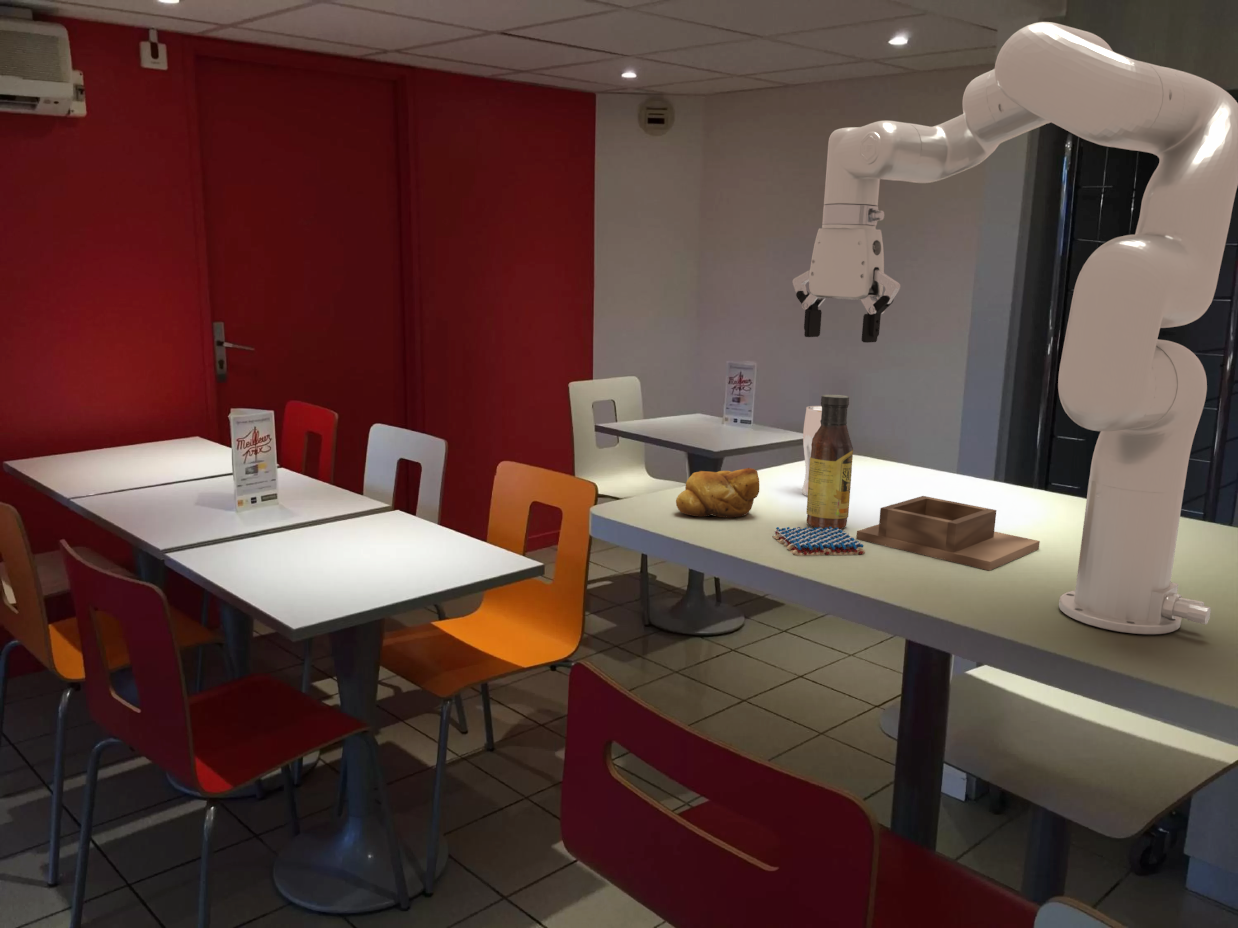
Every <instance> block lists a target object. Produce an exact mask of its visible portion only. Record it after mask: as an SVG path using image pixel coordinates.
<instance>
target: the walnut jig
mask: <svg viewBox="0 0 1238 928" xmlns="http://www.w3.org/2000/svg"><path fill="white" fill-rule="evenodd" d="M879 509H880V510H879V521H878V523H879V524H875V525H872V526H869V527H866V528H865V527H864V528H862V529H858V530H856V537H855V539H857V541H859V540H860V541H863V542H868V543H871V544H876V545H880V546H884V547H889V548H894V549H897V550H901V551H906V552H910V553H914V554H918V555H922V556H927V557H930V558H935V559H939V560H943V561H946V562H947V561H948V562H952V563H955V564H960V565H965V566H969V567H973V568H977V569H980V570H981V569H982V570H985V571H992V570H994V569H997V568H999V567H1001V566H1003V565H1007V564H1009V563H1011V562H1013V561H1015V560H1017V559H1020V558H1022V557H1024V556H1027V555H1029V554H1031V553H1034V552H1035V551H1038V550H1040V543H1041V541H1040V540H1036V539H1031V538H1026V537H1022V536H1018V535H1012V534H1009V533H1008V534H1007V533H1004V532H1003V533H1002V532H999V531H995V530H996V529H995V528H996V527H995V526H996V520H997V519H996V516H997V509H991V508H989V507H984V506H977V505H972V504H967V503H963V502H957V501H952V500H947V499H941V498H935V497H932V496H931V497H930V496H926V495H921V496H918V497H913V498H911V499H908V500H903V501H899V502H896V503H893V504H889V505H887V506H886V505H885V506H883V507H880V508H879Z"/></svg>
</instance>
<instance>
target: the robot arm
mask: <svg viewBox="0 0 1238 928" xmlns="http://www.w3.org/2000/svg"><path fill="white" fill-rule="evenodd" d="M994 65H995V66H994V68H993V69H992V70H991V69H990V70H989V71H987V72H984V73H982V74H980V75H979V76H976V77H975V78H974V79H971V81H970V82H969V83H968V84H967V85H966V87H965V90H964V91H963V96H962V112H963V113H962V114H959V115H958V116H956V117H954V118H951V119H949V120H947V121H944V122H942V123H938V124H936V125H934V126H928V125H924V124H923V125H922V124H917V123H912V122H902V121H897V120H878V121H874V122H871V123H868V124H866V125H863V126H858V127H855V126H853V127H849V126H848V127H842V128H838V129H835V130H834V131H832V132H831V134H830V136H829V138H828V142H827V143H828V144H827V159H826V172H825V173H826V174H825V184H824V185H825V186H824V196H823V198H824V199H823V210H822V223H821V224H822V225H821V228H820V227H819V228H818V230H817V233H816V237H815V240H814V245H813V250H812V254H811V255H812V256H811V262H810V268H809V269H808V270H807V271H805V272H803V273H801V274H800V275H798V276H796V277H794V278H793V279H792V281H791V282H792V286H793V289H794V292H795V293H796V294H795V296H796V299H797V300H798V301H799V303H800V304H801V308H802V309H803V310H805V311H804V322H803V323H804V324H803V329H804V337H805V338H815V337H817V338H818V337H819V336H821V326H822V325H821V324H822V313H823V312H822V309H819V307H820V306H821V305H822V304H823V303H824V301H825V300H826V299H837V300H852V301H853V300H855V301H856V300H860V302H861V303H862V305H863V307H864V308H865V310H866V312H867V313H864V314H863V318H862V330H861V342H863V343H876V342H877V341H878V337H879V335H880V326H881V315H883V314H884V313H885V312H886V309H888V307H890V306H891V305H892V304H893V302H894V298H895V297H896V296H897V294H898V293H899V291H900V290H901V283H899V282H898V281H896V280H895V279H893V278H892V277H891V276H889V275H888V274H886V273H885V271H884V270H885V254H884V252H885V251H884V243H883V234H882V233H883V232H882V229H877V228H876V227H877V225H878V222H879V221H883V220H884V219H885V211H884V210H879V206H878V205H879V193H880V181H881V180H887V181H900V182H908V183H915V184H916V183H917V184H929V183H934V182H935V183H936V182H939V181H942V180H944V179H947V178H950V177H952V176H954V175H955V176H956V175H957V174H960V173H962V172H965V171H967V170H969V169H972V168H975V167H976V166H978V165H979V164H981V163H983V162H984V161H985V160H986V159H988V158H989V156H991V155H992V154H993V153H994V152H995V151H996V150H997V148H998V147H999V145H1001V144H1002V143H1004V142H1007V141H1009V140H1011V139H1014V138H1016V137H1018V136H1020V135H1022V134H1025V133H1028V132H1030V131H1032V130H1035V129H1037V128H1040V127H1043V126H1044V125H1046V124H1047V125H1048V124H1050V123H1051V124H1054V125H1056V126H1057V127H1060V128H1061V129H1064V130H1065V131H1068V132H1069V133H1071V134H1073V135H1075V136H1076V137H1079V138H1081V139H1083V140H1085V141H1088V142H1090V143H1094V144H1096V145H1099V146H1103V147H1109V148H1116V149H1122V150H1129V151H1138V152H1143V153H1149V154H1153V155H1154V156H1157V158H1158V159H1159V163H1158V165H1157V167H1156V169H1155V170H1154V171H1153V173H1152V175H1151V177H1150V178H1149V181H1148V183H1147V185H1146V187H1145V190H1144V193H1143V196H1142V199H1141V205H1140V212H1139V218H1138V221H1137V225H1136V229H1135V233H1134V234H1126V235H1123V236H1117V237H1114V238H1112V239H1110V240H1108V241H1106V242H1104V243H1103V244H1102V245H1100V246H1099V247H1098V248H1096V249H1095V250H1094V251H1093V252H1092V253H1091V254H1090V256H1089V257H1088V258H1087V260H1086V261H1085V263H1083V265H1082V268H1081V270H1080V271H1079V274H1078V276H1077V279H1076V282H1075V285H1074V289H1073V293H1072V294H1073V295H1072V299H1071V303H1070V310H1069V315H1068V321H1067V325H1066V331H1065V335H1064V336H1065V337H1064V342H1063V348H1062V352H1061V359H1060V363H1059V371H1058V378H1057V379H1058V381H1057V382H1058V383H1057V389H1058V396H1059V400H1060V403H1061V406H1062V408H1063V410H1064V412H1065V414H1067V416H1068V417H1069V418H1070V419H1071V421H1073V422H1074V423H1075V424H1077V425H1078V426H1080V427H1081V428H1084V429H1086V430H1090V431H1095V432H1099V434H1098V438H1097V440H1096V444H1095V446H1094V451H1093V453H1092V459H1091V464H1090V472H1089V479H1088V485H1087V495H1086V503H1085V508H1084V509H1085V511H1084V517H1083V518H1084V520H1083V524H1082V525H1083V527H1082V532H1081V533H1082V535H1081V544H1080V550H1079V558H1078V568H1077V573H1076V574H1077V575H1076V582H1075V583H1076V584H1075V590H1071V591H1070V590H1069V591H1067V592H1064V593H1063V594H1061V595H1060V596H1059V601H1058V608H1059V610H1060V611H1061V612H1063V614H1065V615H1066V616H1068V618H1069V617H1070V618H1072V619H1074V620H1075V621H1078V622H1080V623H1083V624H1085V625H1089V626H1092V627H1096V628H1100V629H1104V630H1109V631H1113V632H1118V633H1119V632H1120V633H1128V634H1137V635H1162V634H1163V635H1164V634H1169V633H1172V632H1175V631H1177V630H1178V629H1179V628H1181V624H1182V623H1181V622H1182V619H1186V620H1187V621H1189V622H1190V621H1191V622H1193V623H1194V622H1195V623H1199V624H1203V625H1207V624H1208V622H1209V620H1210V617H1211V607H1210V606H1207V605H1205V602H1204V601H1201V600H1195V599H1191V598H1190V599H1189V598H1185V597H1182V594H1179V593H1178V589H1179V583H1176V582H1171V581H1172V574H1173V568H1174V561H1175V554H1176V546H1177V541H1178V540H1177V539H1178V532H1179V526H1180V519H1181V513H1182V505H1183V499H1184V490H1185V487H1186V479H1187V472H1188V468H1189V467H1188V466H1189V462H1190V461H1189V460H1190V456H1191V451H1192V447H1193V446H1192V445H1193V443H1194V439H1195V434H1196V431H1197V428H1198V425H1199V422H1200V419H1201V416H1202V414H1203V410H1204V407H1205V402H1206V400H1207V399H1206V397H1207V392H1208V385H1207V384H1208V383H1207V380H1208V379H1207V375H1206V370H1205V368H1204V366H1203V363H1202V362H1201V360H1200V359H1199V357H1198V356H1196V354H1195V353H1194V352H1193V351H1191V350H1190V349H1189V348H1187V347H1186V346H1184V345H1182V344H1180V343H1177V342H1174V341H1171V340H1168V339H1167V340H1166V339H1158V337H1159V334H1160V330H1161V329H1166V328H1174V327H1181V326H1185V325H1188V324H1190V323H1193V322H1195V321H1197V320H1199V319H1200V318H1201V317H1202V316H1203V315H1204V314H1205V313H1206V312H1207V311H1208V309H1209V307H1210V305H1212V302H1213V299H1214V298H1215V297H1214V296H1215V293H1216V289H1217V285H1218V281H1219V274H1220V271H1221V270H1220V269H1221V266H1222V261H1223V257H1224V251H1225V248H1226V243H1227V238H1228V234H1229V230H1230V229H1229V228H1230V225H1231V224H1230V223H1231V219H1232V212H1233V207H1234V202H1235V198H1236V193H1237V189H1238V102H1237V100H1236V99H1235V98H1234V97H1233V96H1232V95H1231V94H1230V93H1229V92H1228V91H1227V90H1225V89H1223V88H1222V87H1221V86H1219V85H1217V84H1215V83H1213V82H1212V81H1209V80H1207V79H1205V78H1203V77H1200V76H1198V75H1195V74H1193V73H1190V72H1186V71H1182V70H1179V69H1175V68H1171V67H1165V66H1162V65H1161V66H1160V65H1157V64H1153V63H1149V62H1147V61H1146V62H1145V61H1141V60H1136V59H1133V58H1130V57H1128V56H1125V55H1123V54H1121V53H1118V52H1115V51H1113V49H1112V48H1111V46H1110V45H1109V43H1107V42H1106V41H1105V40H1104V39H1103V38H1101V37H1100V36H1098V35H1096V34H1095V33H1093V32H1090V31H1086V30H1082V29H1078V28H1077V27H1076V28H1075V27H1073V26H1072V27H1071V26H1068V25H1064V24H1061V23H1057V22H1051V21H1050V22H1049V21H1039V22H1034V23H1032V24H1028V25H1026V26H1023V27H1022V28H1020V29H1018V30H1017V31H1016V32H1014V33H1013V34H1012V35H1010V37H1008V39H1007V40H1006V41H1005V42H1004V44H1003V46H1001V48H1000V50H999V52H998V54H997V57H996V60H995V64H994ZM807 283H808V290H809V291H808V290H807V286H806V285H807ZM884 289H885V290H884Z"/></svg>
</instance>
